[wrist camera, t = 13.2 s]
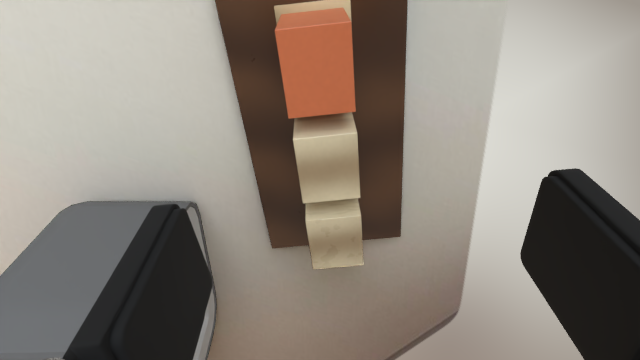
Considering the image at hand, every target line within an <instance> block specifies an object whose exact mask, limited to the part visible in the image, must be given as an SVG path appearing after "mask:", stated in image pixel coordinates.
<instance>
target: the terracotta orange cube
mask: <svg viewBox="0 0 640 360" xmlns="http://www.w3.org/2000/svg"><path fill="white" fill-rule="evenodd" d="M275 36H276V42H277V48H278V55H279V61H280V67H281V74H282V80H283V87H284V93H285V99H286V106H287V112H288V118H289V119H290V118H300V117H310V116H319V115H329V114H339V113H348V112H355V111H356V107H355V86H354V66H353V45H352V25H351V20H350V19H349V17H348V15H347V13H346V12H345V10H344V8H334V9H325V10H316V11H307V12H298V13H289V14H281V16H280V18H279V21H278V23H277V26H276V28H275Z"/></svg>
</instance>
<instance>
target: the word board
mask: <svg viewBox="0 0 640 360" xmlns="http://www.w3.org/2000/svg"><path fill="white" fill-rule="evenodd" d="M215 2H216V7H217V11H218V15H219V20H220V24H221V28H222V33H223V37H224V41H225V46H226V50H227V54H228V59H229V63H230V67H231V72H232V76H233V80H234V85H235V89H236V93H237V98H238V102H239V106H240V111H241V115H242V119H243V124H244V128H245V132H246V137H247V141H248V145H249V150H250V154H251V158H252V163H253V167H254V171H255V176H256V180H257V184H258V189H259V193H260V197H261V202H262V206H263V210H264V215H265V219H266V223H267V228H268V232H269V236H270V241H271V245H272V248H282V247H293V246H303V245H309V241H308V234H307V228H306V222H305V212H306V203H303V202H302V195H301V189H300V182H299V176H298V170H297V163H296V157H295V150H294V144H293V132H294V119H295V118H290V119H289V118H288V112H287V106H286V99H285V93H284V87H283V80H282V74H281V67H280V61H279V55H278V48H277V42H276V36H275V28H276V26H277V23H278V21H279V18H280V16H281V14H289V13H298V12H307V11H316V10H325V9H334V8H344V10H345V12H346V13H347V15H348V17H349V19H350V20H351V25H352V45H353V66H354V86H355V107H356V111H355V112H352V114H353V118H354V122H355V126H356V130H357V135H358V156H359V178H360V198H358V202H359V207H360V212H361V221H362V240H369V239H379V238H390V237H400V236H401V201H402V167H403V133H404V99H405V65H406V31H407V0H215Z"/></svg>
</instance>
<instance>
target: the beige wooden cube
mask: <svg viewBox="0 0 640 360" xmlns="http://www.w3.org/2000/svg"><path fill="white" fill-rule="evenodd" d="M305 222H306V228H307V234H308V241H309V247H310V254H311V260H312V267H313V270H314V269H325V268H337V267H348V266H359V265H363V243H362V221H361V212H360V207H359V202H358V198H355V199H345V200H335V201H324V202H314V203H306V212H305Z"/></svg>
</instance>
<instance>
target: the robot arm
mask: <svg viewBox="0 0 640 360" xmlns="http://www.w3.org/2000/svg"><path fill="white" fill-rule="evenodd" d="M521 260H522V263H523V265H524V267H525V269H526V270H527V272H528V273H529V275H530V276H531V278H532V279H533V281H534V282H535V284H536V286H537V287H538V288H539V290H540V292H541V293H542V295H543V296H544V298H545V299H546V301H547V302H548V304H549V306H550V307H551V309H552V310H553V312H554V313H555V315H556V316H557V318H558V320H559V321H560V323H561V324H562V326H563V327H564V329H565V330H566V332H567V333H568V335H569V337H570V338H571V340H572V341H573V343H574V344H575V346H576V347H577V349H578V350H579V352H580V353H581V355H582V356H583V358H584V360H640V220H639V219H637V218H636V217H635V216H634V215H633V214H632V213H630V212H629V211H628V210H627V209H626V208H625V207H623V206H622V205H621V204H620V203H619V202H618V201H616V200H615V199H614V198H613V197H612V196H610V194H608V193H607V192H606V191H605V190H604V189H603V188H601V187H600V186H599V185H598V184H597V183H596V182H594V181H593V180H592V179H591V178H590V177H589V176H587V175H586V174H585V173H584V172H583V171H581V170H580V169H566V170H555V171H551V172H550V173H549V175H548V177H544V178H543V179H542V182H541V185H540V188H539V192H538V195H537V198H536V202H535V205H534V209H533V212H532V215H531V219H530V223H529V226H528V229H527V232H526V236H525V239H524V243H523V246H522V249H521ZM211 291H212V277H211V274H210V271H209V268H208V266H207V263H206V260H205V258H204V255H203V252H202V250H201V247H200V245H199V242H198V239H197V237H196V234H195V231H194V229H193V226H192V223H191V221H190V218H189V215H188V213H187V211H186V209H184V208H181V209H180V207H179V205H178V204H164V205H155V206H153V207H152V208H151V209H150V211H149V213H148V214H147V216H146V218H145V219H144V221H143V223H142V225H141V226H140V228H139V230H138V231H137V233H136V235H135V236H134V238H133V240H132V241H131V243H130V245H129V246H128V248H127V250H126V251H125V253H124V255H123V256H122V258H121V260H120V262H119V263H118V265H117V267H116V268H115V270H114V272H113V273H112V275H111V277H110V278H109V280H108V282H107V283H106V285H105V287H104V288H103V290H102V292H101V293H100V295H99V297H98V299H97V300H96V302H95V304H94V305H93V307H92V309H91V310H90V312H89V314H88V315H87V317H86V319H85V320H84V322H83V324H82V325H81V327H80V329H79V330H78V332H77V334H76V336H75V337H74V339H73V341H72V342H71V344H70V346H69V348H68V349H67V351H66V353H65V354H64V356H63V358H46V359H43V360H192V358H193V354H194V350H195V347H196V343H197V340H198V336H199V333H200V329H201V326H202V322H203V319H204V315H205V312H206V308H207V305H208V301H209V298H210V294H211Z"/></svg>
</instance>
